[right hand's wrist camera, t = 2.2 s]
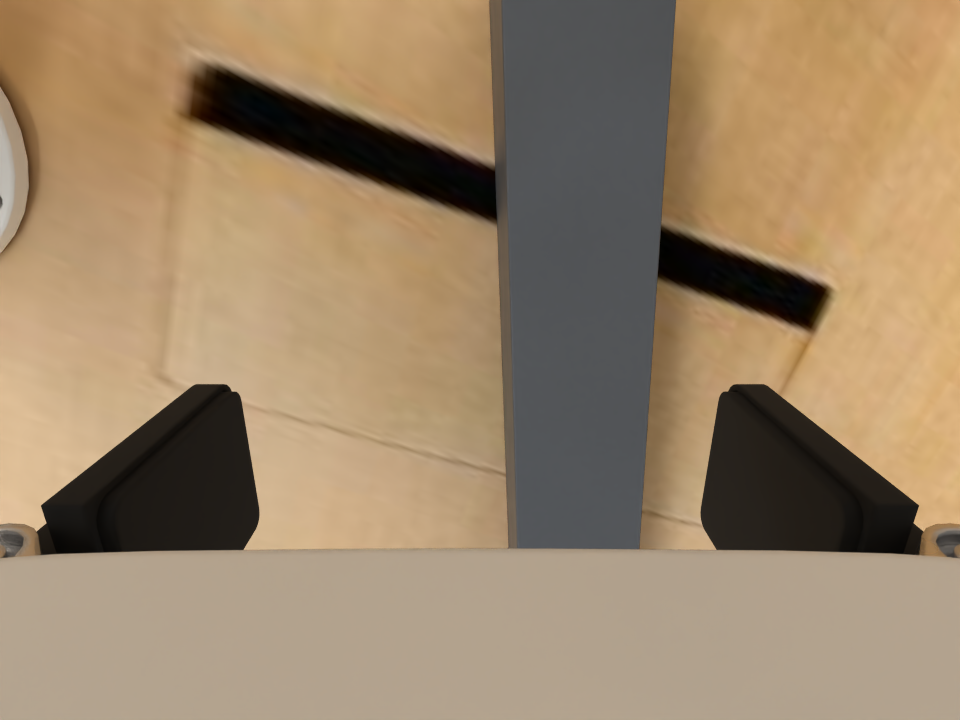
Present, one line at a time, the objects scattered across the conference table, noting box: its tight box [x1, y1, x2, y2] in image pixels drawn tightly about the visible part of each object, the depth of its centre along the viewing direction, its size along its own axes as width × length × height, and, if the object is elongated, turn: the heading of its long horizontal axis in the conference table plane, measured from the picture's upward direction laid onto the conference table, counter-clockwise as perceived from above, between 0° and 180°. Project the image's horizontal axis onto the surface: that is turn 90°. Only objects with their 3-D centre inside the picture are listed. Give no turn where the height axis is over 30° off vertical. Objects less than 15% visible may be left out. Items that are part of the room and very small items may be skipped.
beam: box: [489, 0, 676, 549], centre depth 32 cm, size 70×5×8 cm, turn 3°
